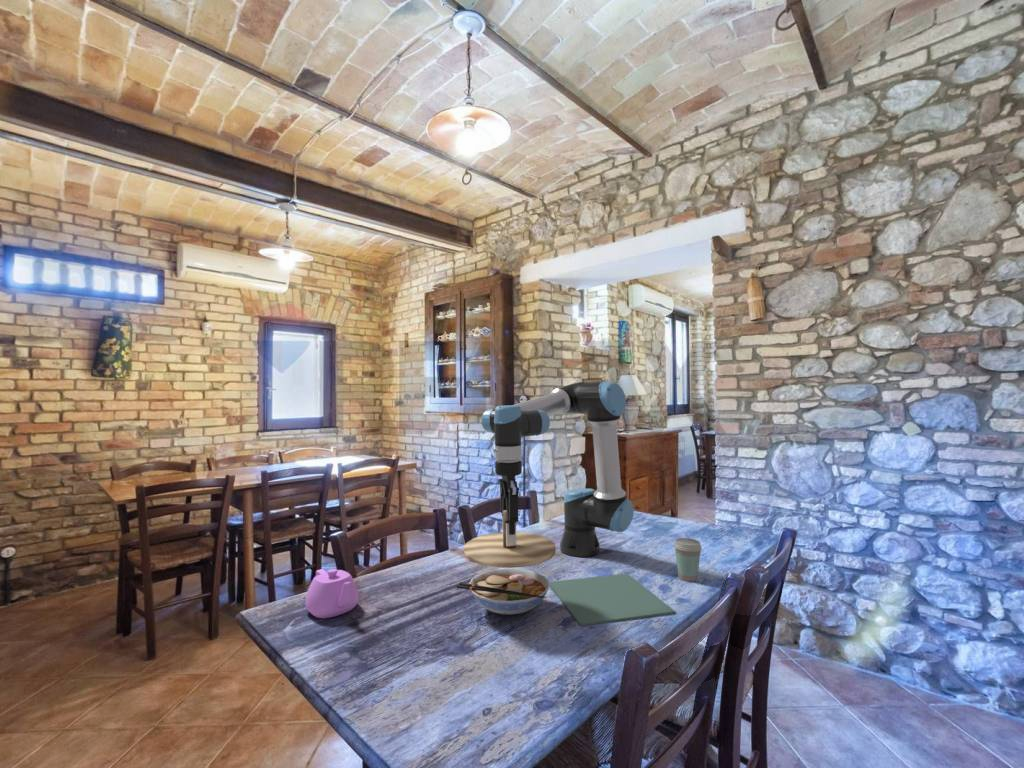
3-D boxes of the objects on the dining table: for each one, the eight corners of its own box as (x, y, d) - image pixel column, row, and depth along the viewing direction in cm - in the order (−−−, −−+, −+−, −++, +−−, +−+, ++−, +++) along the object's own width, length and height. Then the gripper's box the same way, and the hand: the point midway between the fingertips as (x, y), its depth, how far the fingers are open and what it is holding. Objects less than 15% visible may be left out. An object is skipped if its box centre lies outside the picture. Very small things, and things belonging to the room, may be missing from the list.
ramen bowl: (561, 598, 144) (561, 571, 144) (541, 636, 123) (540, 603, 123) (483, 587, 153) (483, 561, 153) (451, 621, 131) (451, 590, 131)
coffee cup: (704, 584, 154) (703, 546, 155) (675, 582, 156) (675, 544, 156) (699, 574, 163) (699, 538, 163) (672, 572, 165) (672, 536, 165)
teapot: (326, 631, 126) (326, 588, 126) (295, 606, 140) (294, 567, 140) (373, 613, 135) (373, 573, 135) (339, 592, 149) (339, 556, 149)
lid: (457, 539, 147) (456, 503, 147) (539, 532, 154) (538, 497, 154) (472, 572, 122) (471, 528, 122) (569, 561, 129) (569, 519, 129)
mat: (547, 583, 155) (547, 582, 155) (627, 575, 162) (627, 573, 162) (580, 625, 128) (580, 623, 128) (675, 613, 135) (675, 611, 135)
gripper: (489, 456, 145) (490, 535, 145) (501, 465, 129) (503, 554, 129) (513, 455, 147) (515, 532, 147) (529, 464, 131) (530, 551, 131)
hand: (509, 542), depth 138 cm, fingers closed on lid, 4 cm apart
